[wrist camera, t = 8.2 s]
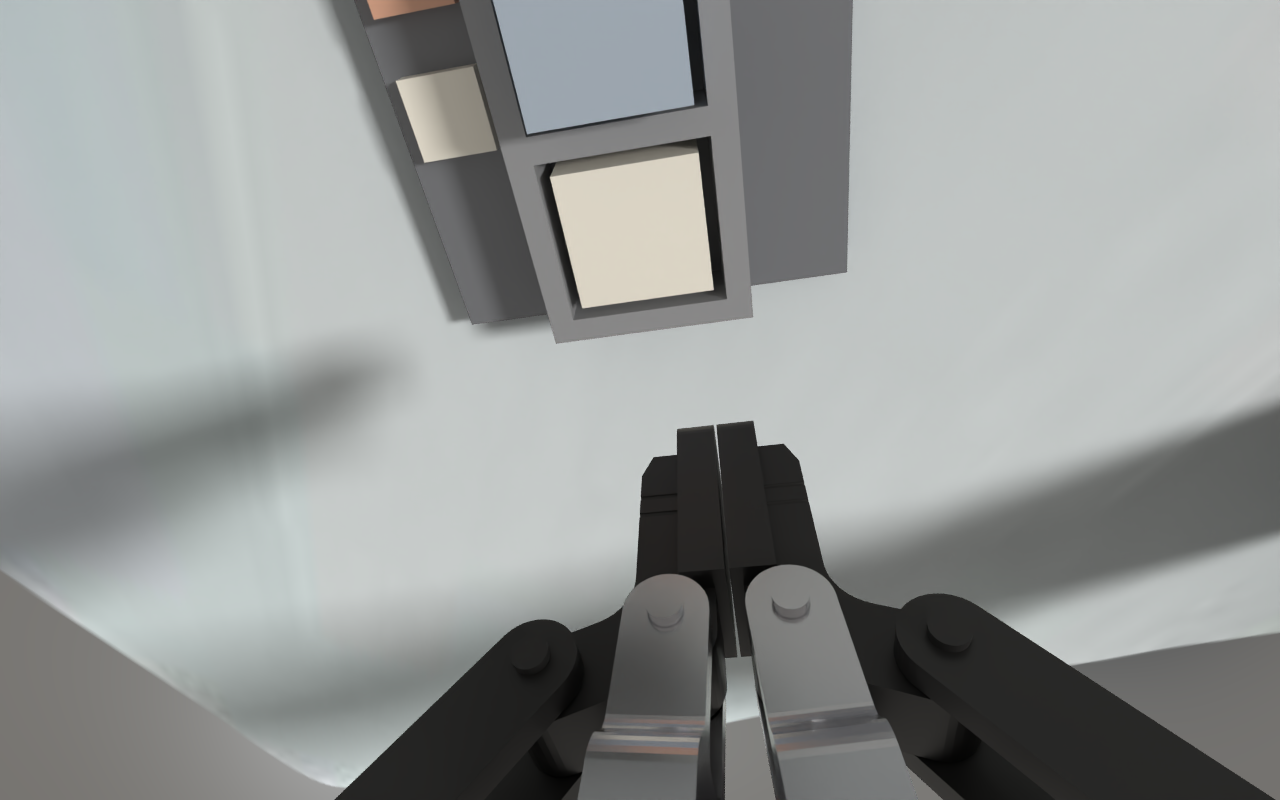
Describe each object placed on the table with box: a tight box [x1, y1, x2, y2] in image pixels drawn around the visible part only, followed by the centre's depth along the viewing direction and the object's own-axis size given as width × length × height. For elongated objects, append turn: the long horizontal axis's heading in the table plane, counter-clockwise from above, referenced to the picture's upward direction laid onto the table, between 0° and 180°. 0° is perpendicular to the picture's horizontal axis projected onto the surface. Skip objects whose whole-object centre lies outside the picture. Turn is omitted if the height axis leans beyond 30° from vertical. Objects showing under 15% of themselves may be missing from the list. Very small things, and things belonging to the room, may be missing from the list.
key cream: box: [550, 139, 714, 308], centre depth 21 cm, size 4×4×2 cm
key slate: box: [493, 0, 694, 134], centre depth 16 cm, size 4×4×2 cm
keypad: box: [354, 0, 853, 344], centre depth 18 cm, size 14×19×4 cm
